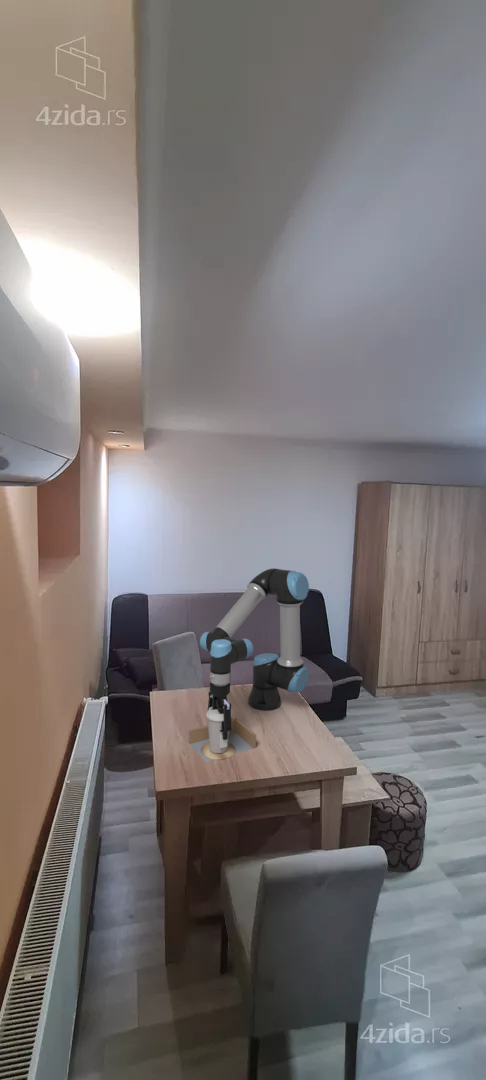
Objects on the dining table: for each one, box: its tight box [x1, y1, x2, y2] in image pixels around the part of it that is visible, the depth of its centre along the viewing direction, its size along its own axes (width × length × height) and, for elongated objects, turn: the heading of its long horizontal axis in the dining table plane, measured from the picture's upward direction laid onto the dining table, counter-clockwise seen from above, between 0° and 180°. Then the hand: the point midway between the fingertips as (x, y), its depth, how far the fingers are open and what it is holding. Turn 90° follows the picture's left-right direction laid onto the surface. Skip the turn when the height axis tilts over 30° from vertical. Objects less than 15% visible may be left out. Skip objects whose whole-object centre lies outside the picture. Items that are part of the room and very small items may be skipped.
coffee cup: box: [206, 707, 233, 753], centre depth 172 cm, size 10×10×15 cm
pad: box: [201, 742, 235, 761], centre depth 173 cm, size 13×13×1 cm
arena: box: [188, 717, 257, 763], centre depth 176 cm, size 21×15×6 cm
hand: (218, 741), depth 172 cm, fingers closed on coffee cup, 7 cm apart
